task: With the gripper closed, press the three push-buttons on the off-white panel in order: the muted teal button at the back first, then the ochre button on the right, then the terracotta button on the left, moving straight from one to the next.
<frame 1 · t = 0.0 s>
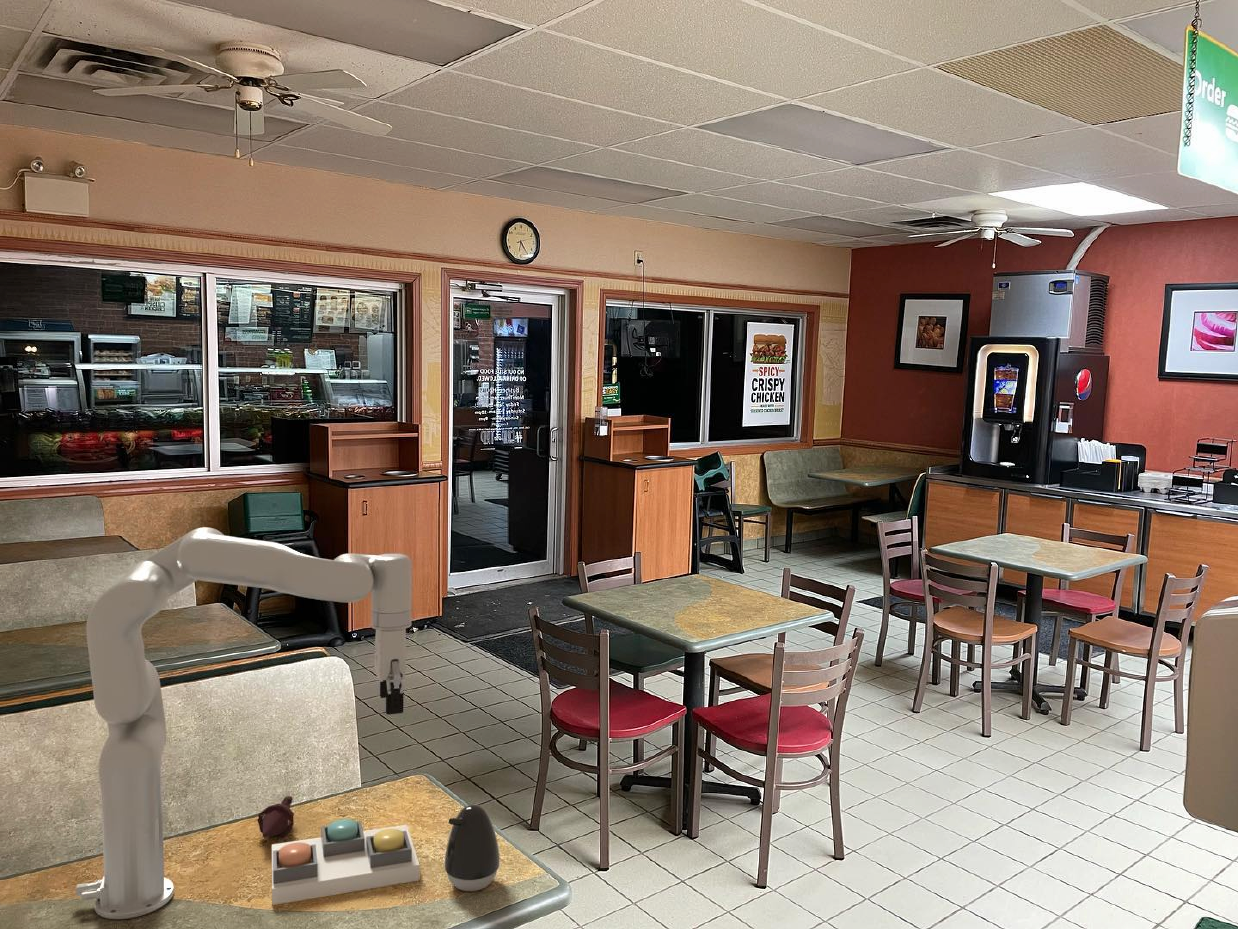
hand: (391, 705, 178), 31 cm above the table, tool pointing down, fingers open, 9 cm apart
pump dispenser: (471, 885, 172), on the table
button teal: (342, 831, 179), point 6 cm above the table, slide at 0.0 cm
button ochre: (388, 841, 176), point 6 cm above the table, slide at 0.0 cm
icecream: (276, 837, 189), on the table
button terracotta: (294, 856, 170), point 6 cm above the table, slide at 0.0 cm
button panel: (344, 869, 176), on the table
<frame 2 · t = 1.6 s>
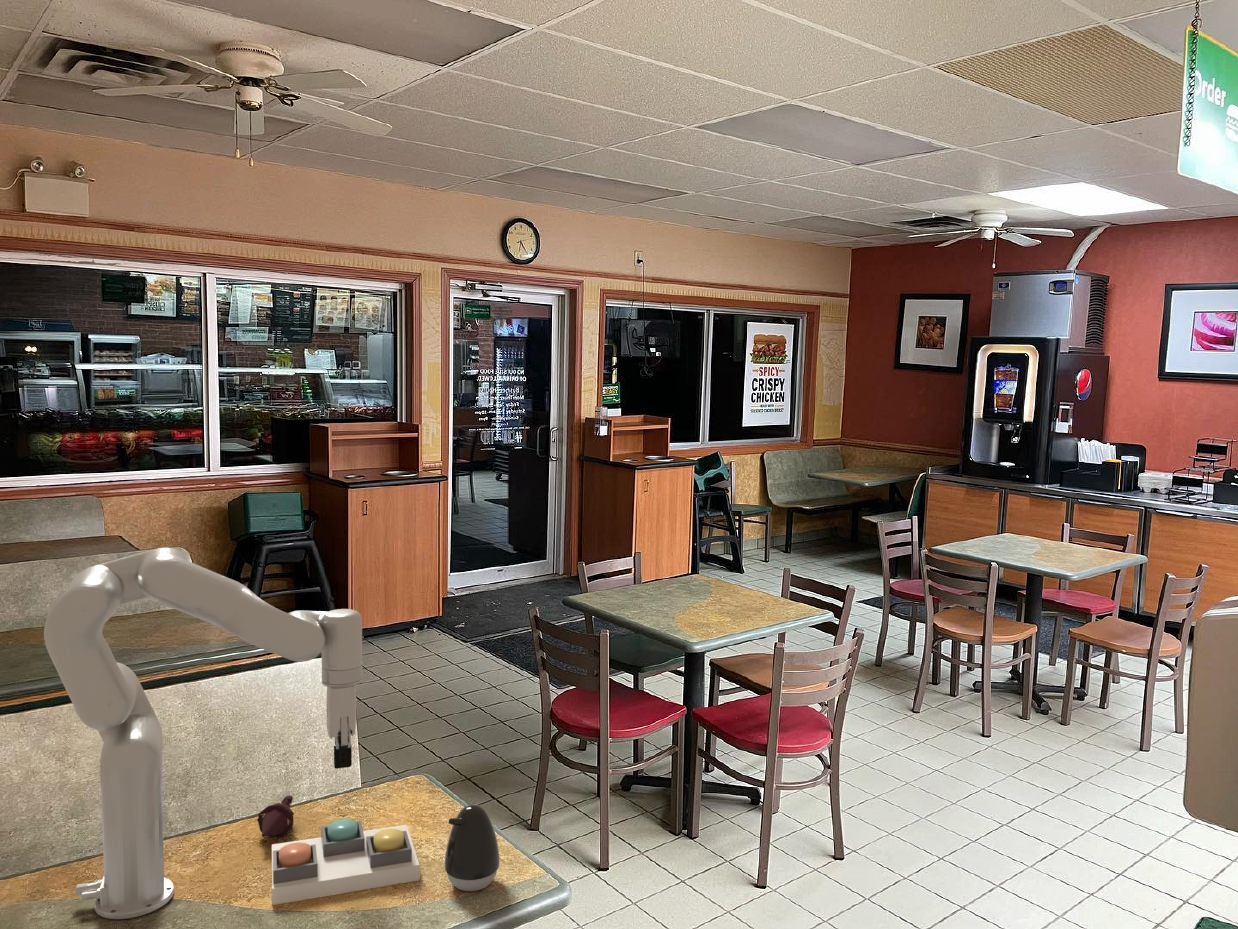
hand: (342, 766, 178), 19 cm above the table, tool pointing down, fingers closed
nothing on the table moved.
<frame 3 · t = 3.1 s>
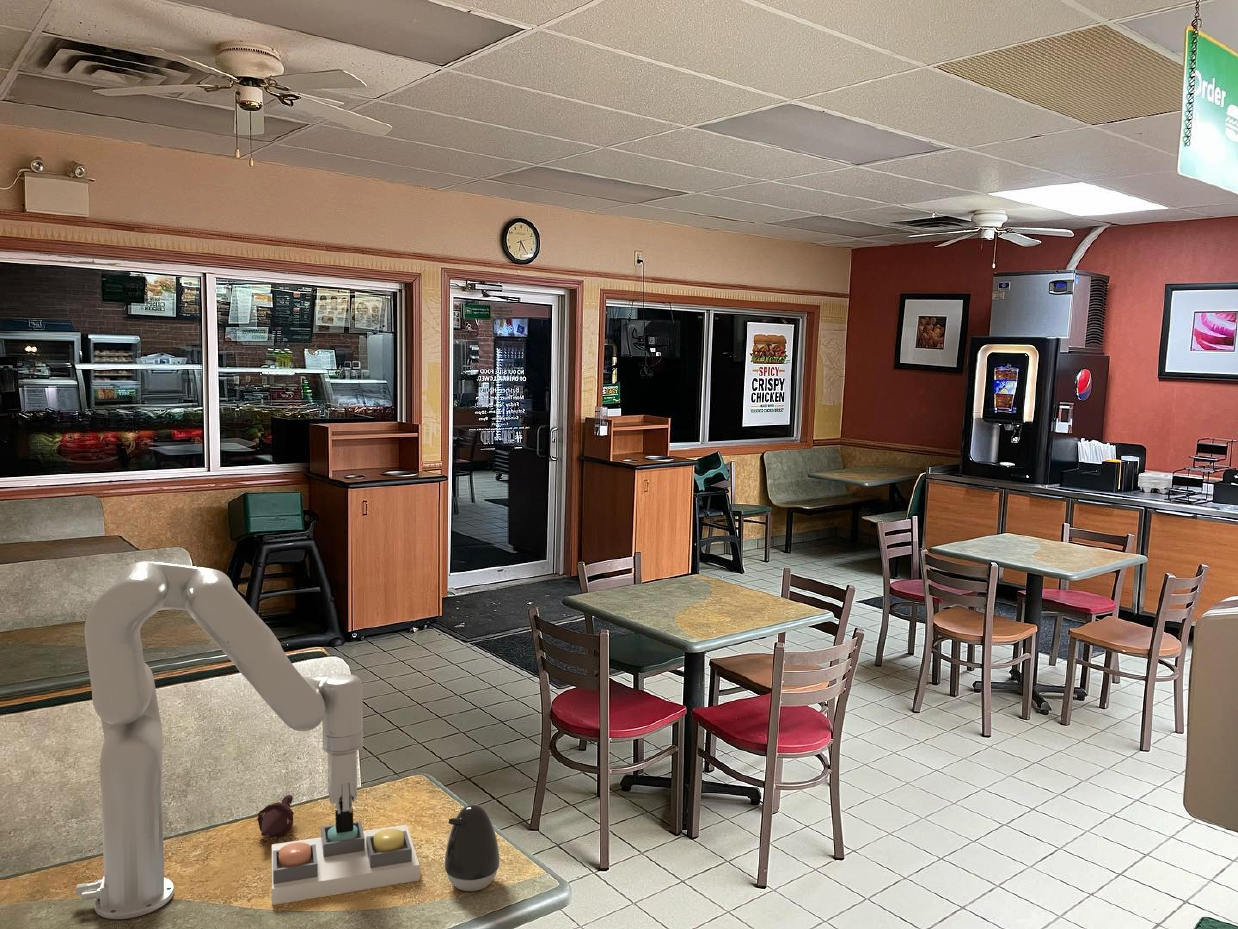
hand: (344, 830, 180), 6 cm above the table, tool pointing down, fingers closed
button teal: (342, 836, 180), point 5 cm above the table, slide at 1.0 cm, touching gripper
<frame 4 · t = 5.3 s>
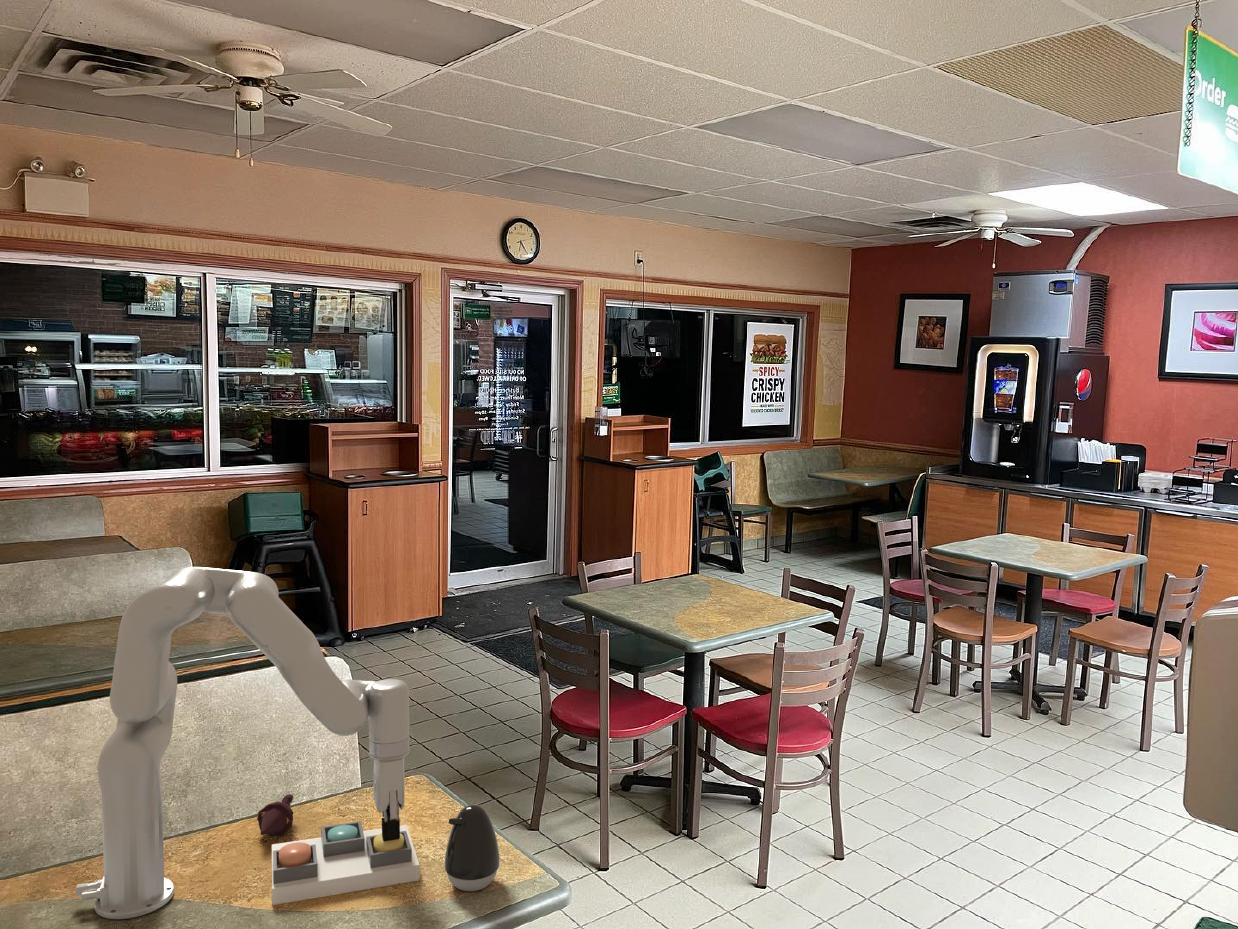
hand: (391, 838, 176), 6 cm above the table, tool pointing down, fingers closed
button teal: (342, 837, 180), point 4 cm above the table, slide at 1.2 cm
button ochre: (388, 844, 176), point 5 cm above the table, slide at 0.6 cm, touching gripper
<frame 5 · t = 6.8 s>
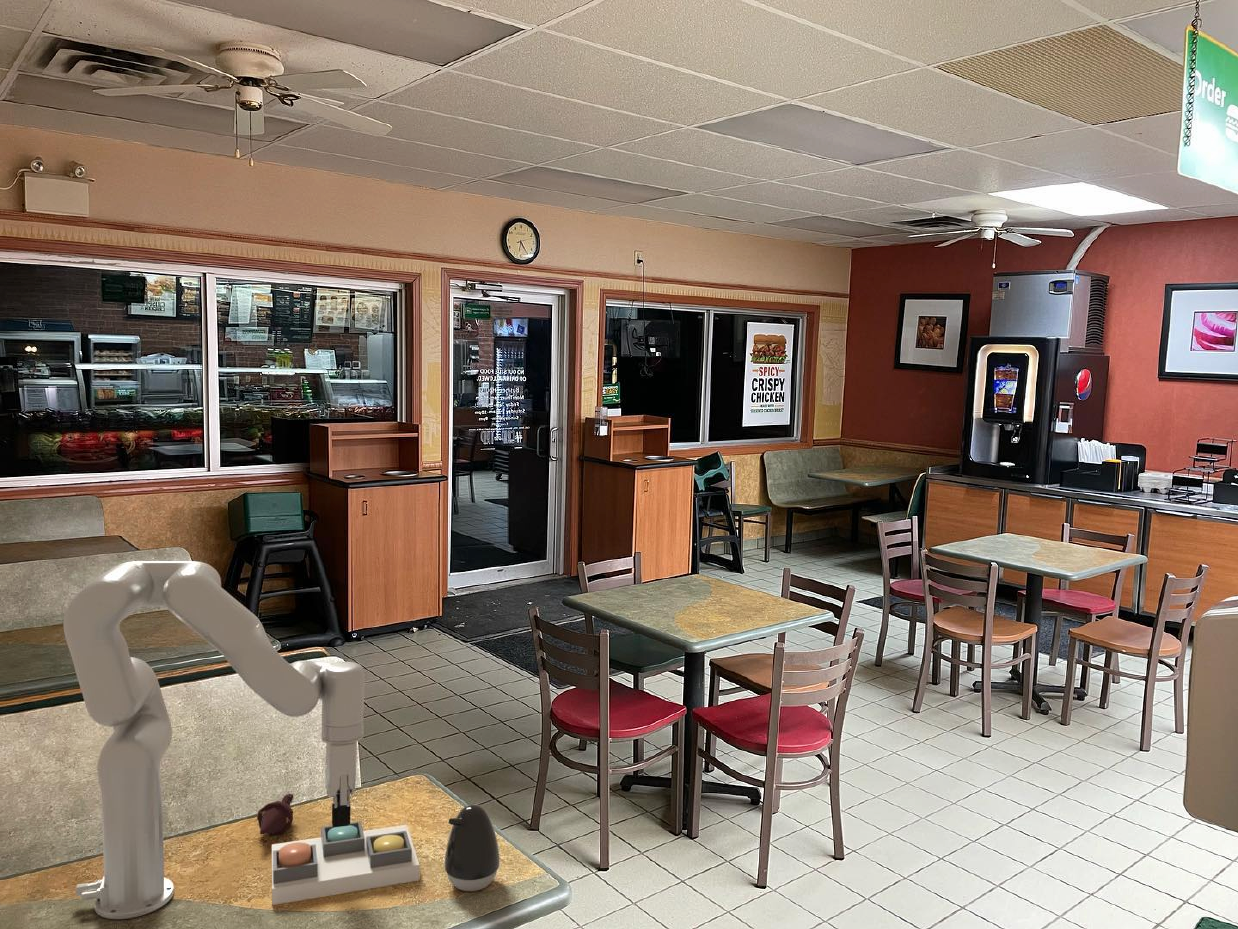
hand: (341, 824, 172), 10 cm above the table, tool pointing down, fingers closed
button ochre: (388, 848, 176), point 4 cm above the table, slide at 1.2 cm
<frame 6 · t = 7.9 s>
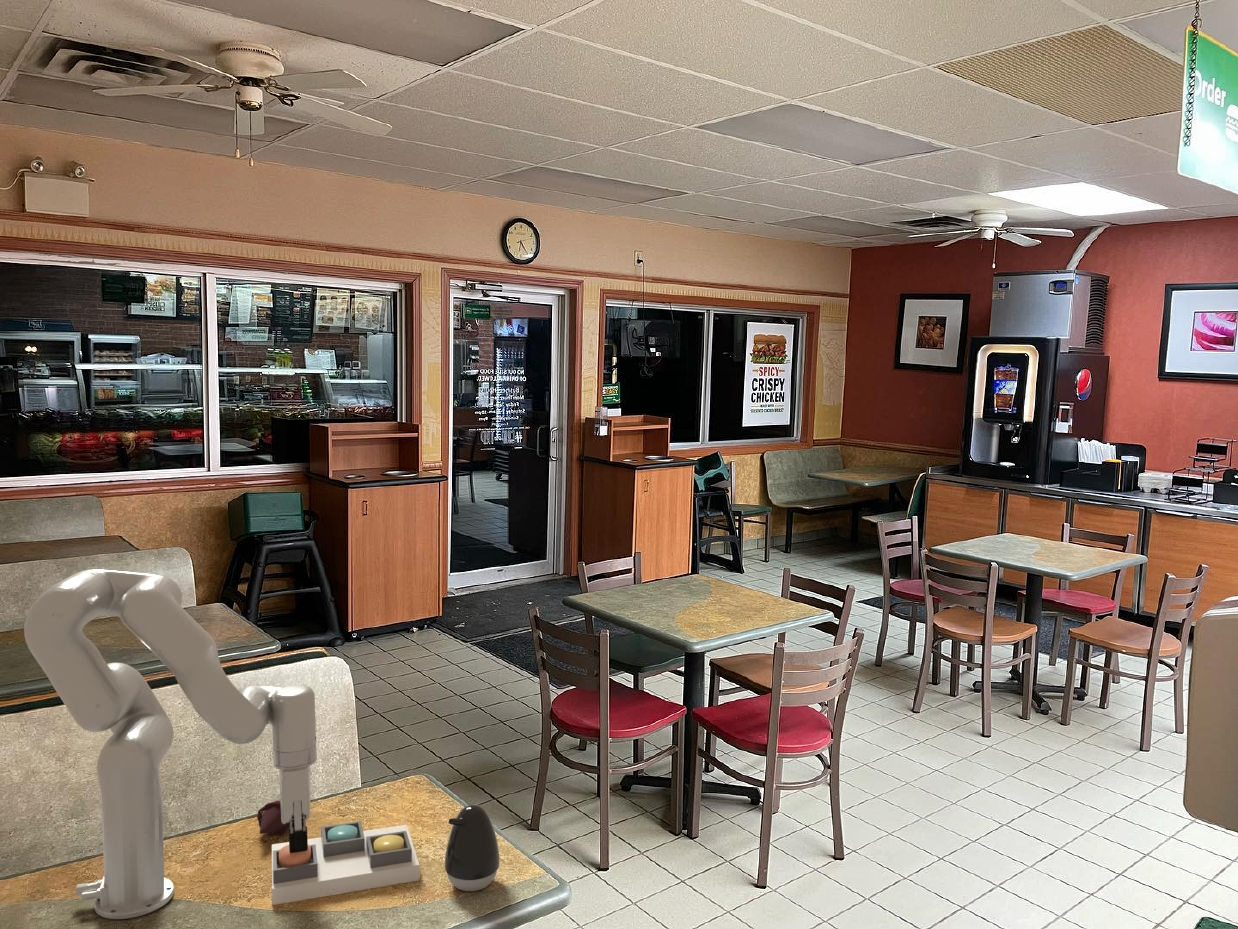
hand: (298, 850, 170), 7 cm above the table, tool pointing down, fingers closed
button terracotta: (294, 856, 170), point 6 cm above the table, slide at 0.1 cm, touching gripper
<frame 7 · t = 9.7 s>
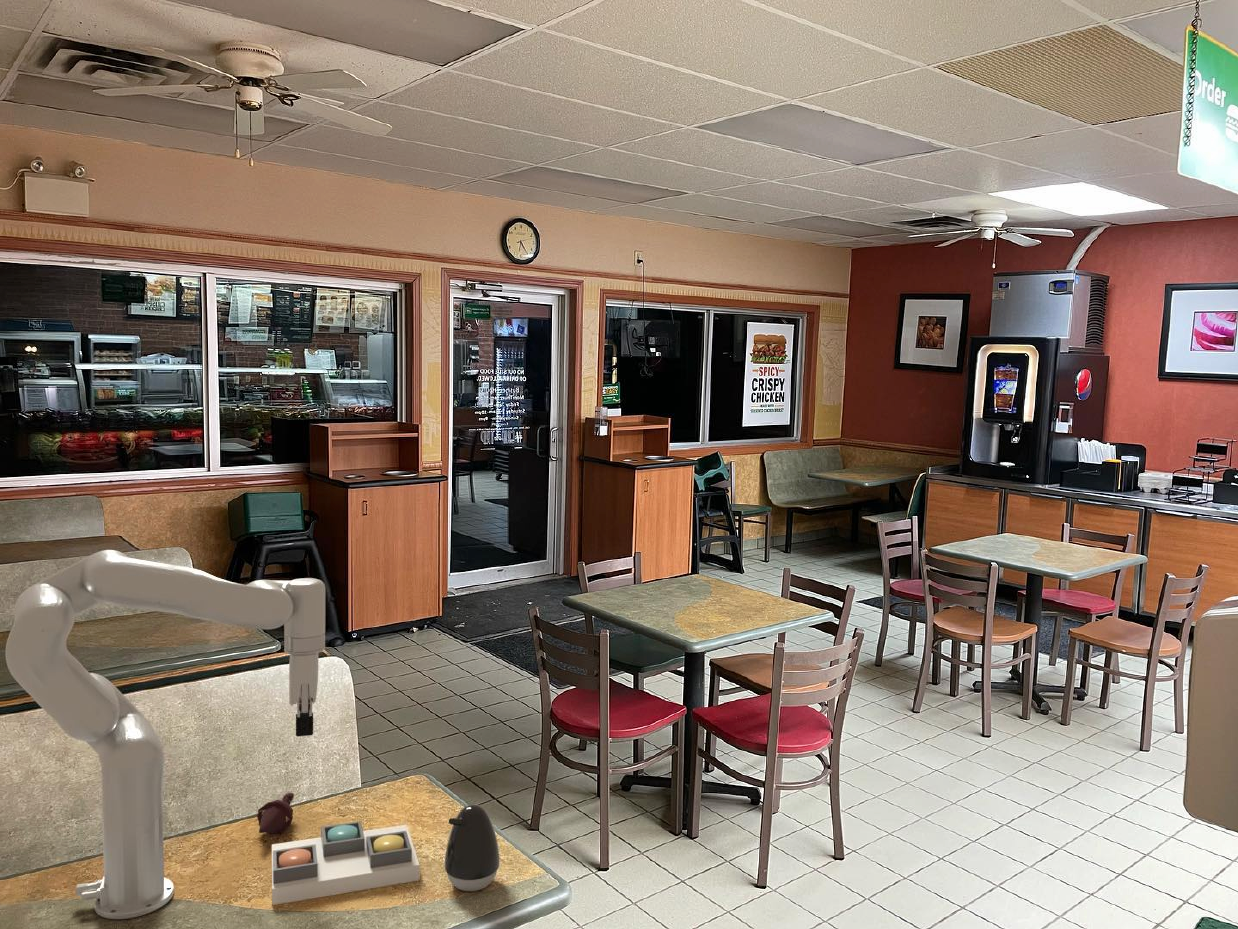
hand: (304, 734, 180), 25 cm above the table, tool pointing down, fingers closed
button terracotta: (295, 862, 170), point 4 cm above the table, slide at 1.3 cm
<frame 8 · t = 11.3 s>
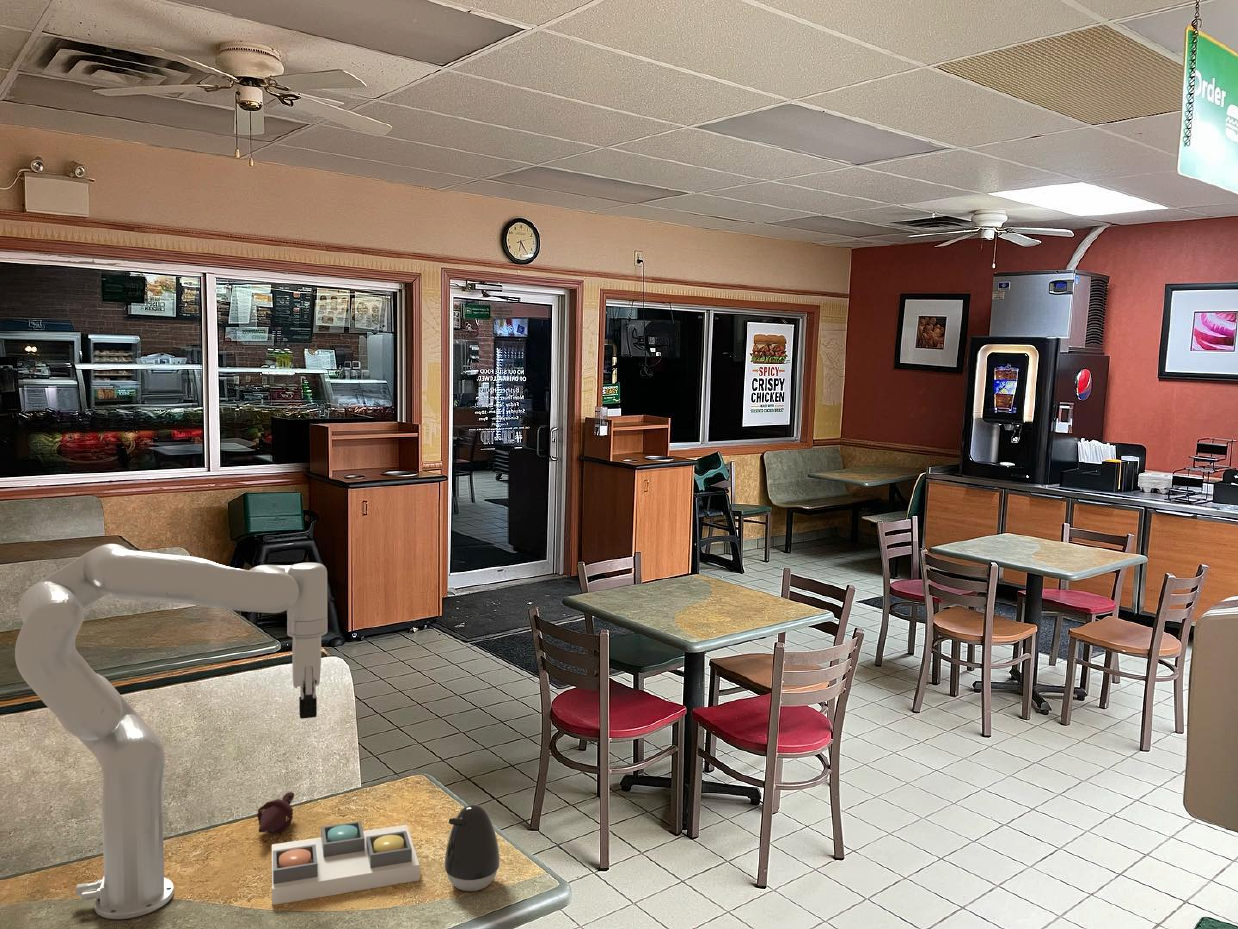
hand: (308, 716, 182), 27 cm above the table, tool pointing down, fingers closed
at the end: button teal slide at 1.2 cm; button ochre slide at 1.2 cm; button terracotta slide at 1.3 cm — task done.
